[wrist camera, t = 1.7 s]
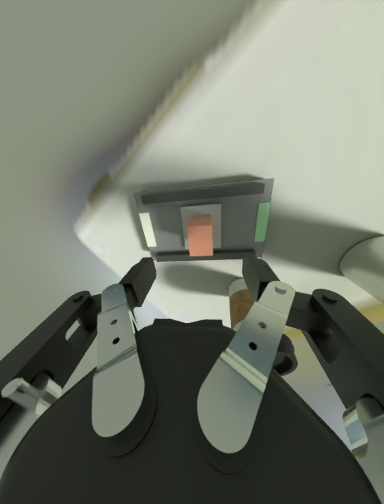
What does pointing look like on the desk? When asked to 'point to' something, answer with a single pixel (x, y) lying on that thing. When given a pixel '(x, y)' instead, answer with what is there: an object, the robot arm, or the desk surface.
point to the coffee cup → (238, 312)
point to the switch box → (232, 218)
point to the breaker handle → (201, 228)
